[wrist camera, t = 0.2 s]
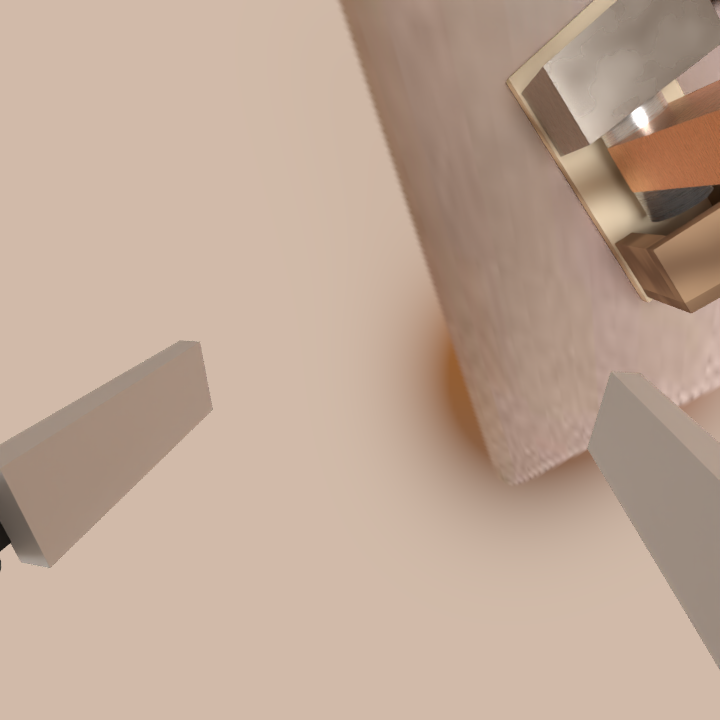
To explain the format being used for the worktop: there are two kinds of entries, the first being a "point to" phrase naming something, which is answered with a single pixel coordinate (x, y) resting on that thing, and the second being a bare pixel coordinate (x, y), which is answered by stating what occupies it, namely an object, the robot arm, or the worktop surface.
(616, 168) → the base board
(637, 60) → the outer sleeve
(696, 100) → the l-shaped lever handle
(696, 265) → the socket block
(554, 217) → the worktop surface
